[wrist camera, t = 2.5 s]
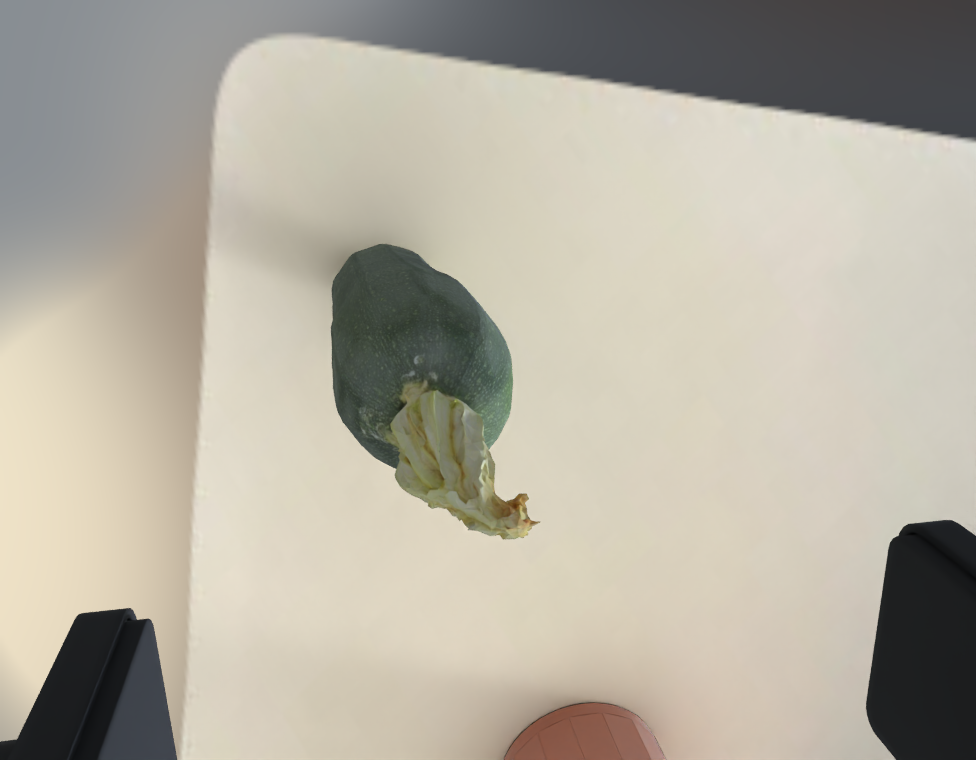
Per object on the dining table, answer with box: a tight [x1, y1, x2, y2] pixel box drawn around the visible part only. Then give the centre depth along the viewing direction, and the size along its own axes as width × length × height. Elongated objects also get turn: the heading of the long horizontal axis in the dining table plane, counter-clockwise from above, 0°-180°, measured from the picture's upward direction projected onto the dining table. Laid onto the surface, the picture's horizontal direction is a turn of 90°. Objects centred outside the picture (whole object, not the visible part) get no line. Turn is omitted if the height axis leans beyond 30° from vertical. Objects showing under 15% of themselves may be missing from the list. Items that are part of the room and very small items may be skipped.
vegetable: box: [331, 244, 540, 539], centre depth 25 cm, size 4×4×20 cm
